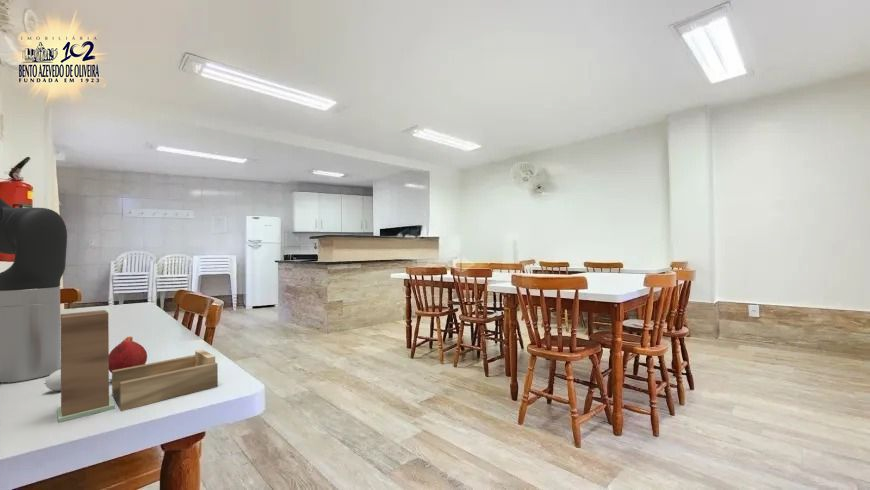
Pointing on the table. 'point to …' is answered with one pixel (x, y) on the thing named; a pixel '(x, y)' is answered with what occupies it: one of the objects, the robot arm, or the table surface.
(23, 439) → the table surface
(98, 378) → the post
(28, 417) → the table surface
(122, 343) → the onion
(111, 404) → the pad
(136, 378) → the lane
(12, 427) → the table surface
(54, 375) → the egg
